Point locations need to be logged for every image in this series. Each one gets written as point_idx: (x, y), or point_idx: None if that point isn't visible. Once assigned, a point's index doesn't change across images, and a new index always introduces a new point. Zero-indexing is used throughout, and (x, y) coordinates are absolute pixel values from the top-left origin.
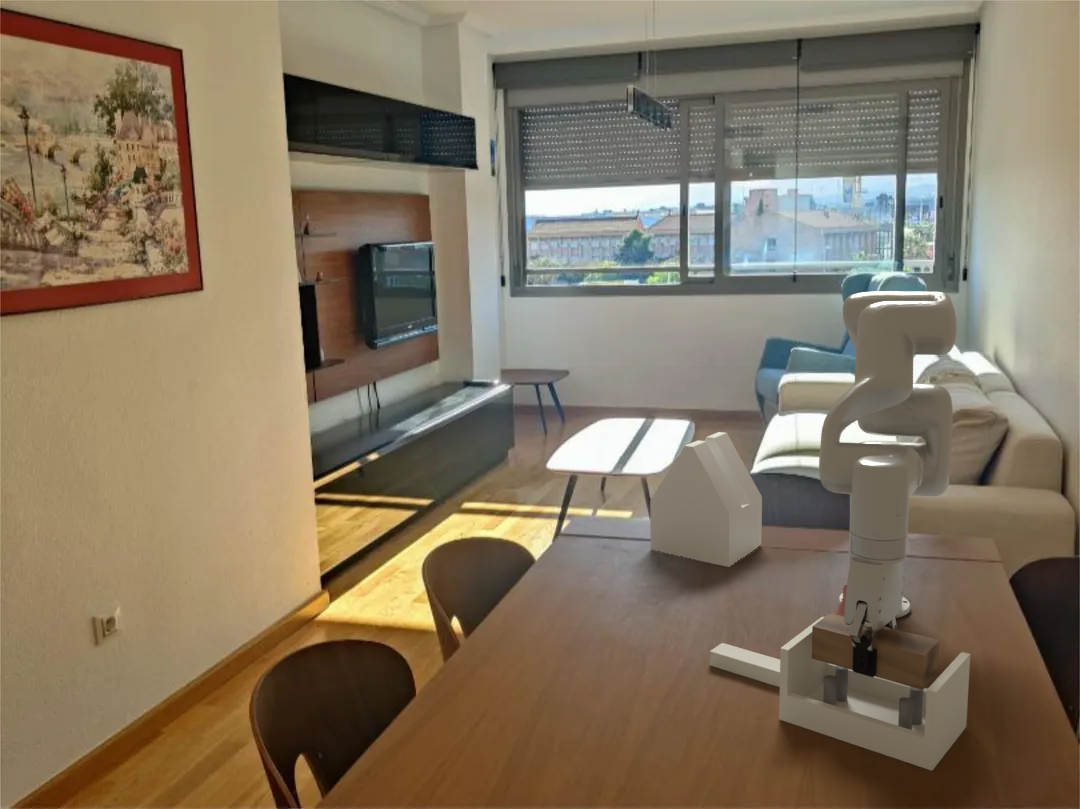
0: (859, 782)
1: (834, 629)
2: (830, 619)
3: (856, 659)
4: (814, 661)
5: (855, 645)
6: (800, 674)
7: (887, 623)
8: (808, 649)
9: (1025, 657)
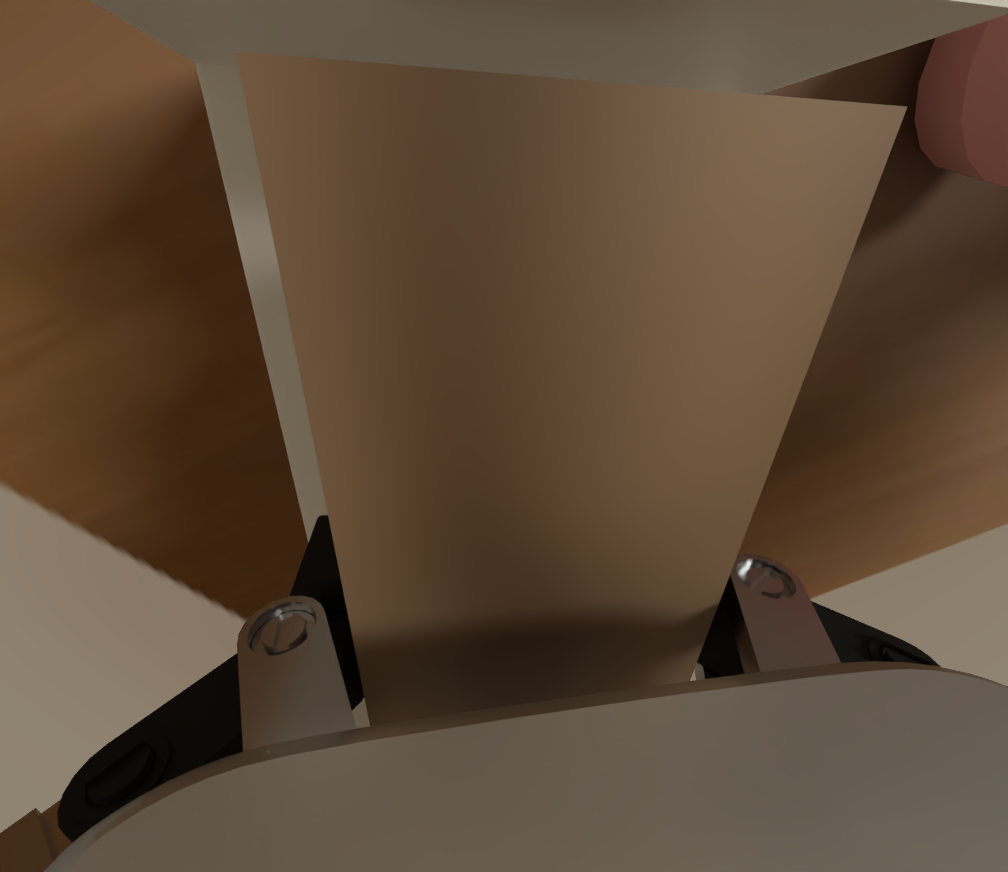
0: (135, 482)
1: (383, 408)
2: (674, 220)
3: (307, 549)
4: (580, 73)
5: (230, 660)
6: (370, 58)
7: (740, 669)
8: (503, 20)
9: (978, 525)
